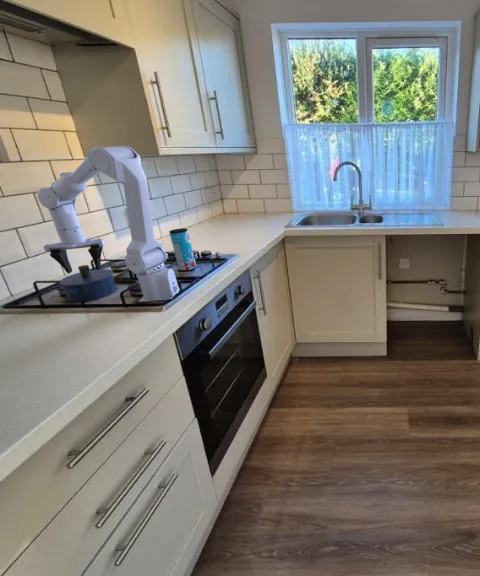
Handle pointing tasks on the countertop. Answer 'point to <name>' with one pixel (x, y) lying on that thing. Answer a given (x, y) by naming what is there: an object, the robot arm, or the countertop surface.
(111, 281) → the tin
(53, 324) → the countertop surface
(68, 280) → the tin lid
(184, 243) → the beverage can
